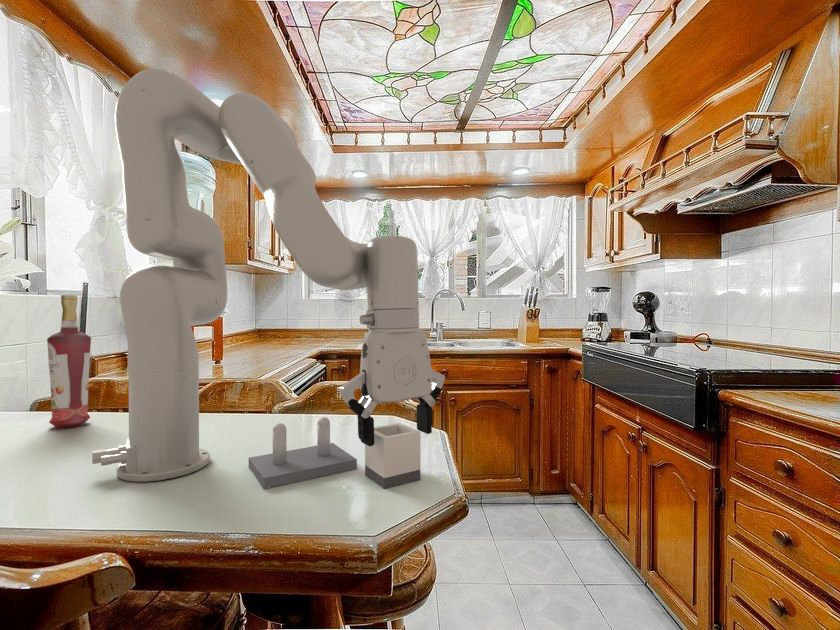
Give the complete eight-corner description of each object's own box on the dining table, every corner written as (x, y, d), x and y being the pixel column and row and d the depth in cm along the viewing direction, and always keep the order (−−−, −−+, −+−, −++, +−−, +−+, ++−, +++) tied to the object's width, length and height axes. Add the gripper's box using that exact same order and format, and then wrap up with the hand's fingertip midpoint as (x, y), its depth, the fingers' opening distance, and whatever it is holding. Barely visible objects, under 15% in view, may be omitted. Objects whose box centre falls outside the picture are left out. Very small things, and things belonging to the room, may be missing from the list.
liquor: (97, 424, 94) (96, 295, 94) (55, 432, 88) (54, 294, 88) (83, 419, 98) (82, 296, 98) (42, 427, 92) (40, 295, 91)
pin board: (263, 489, 60) (263, 434, 60) (248, 467, 68) (248, 419, 68) (356, 468, 67) (356, 420, 67) (332, 451, 76) (332, 408, 76)
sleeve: (384, 488, 60) (384, 438, 60) (365, 475, 65) (365, 428, 65) (420, 479, 63) (420, 431, 63) (399, 467, 68) (399, 422, 68)
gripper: (349, 324, 56) (353, 456, 56) (455, 319, 65) (458, 433, 65) (328, 323, 62) (331, 442, 62) (428, 320, 72) (430, 423, 72)
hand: (396, 437), depth 64 cm, fingers open, 9 cm apart
